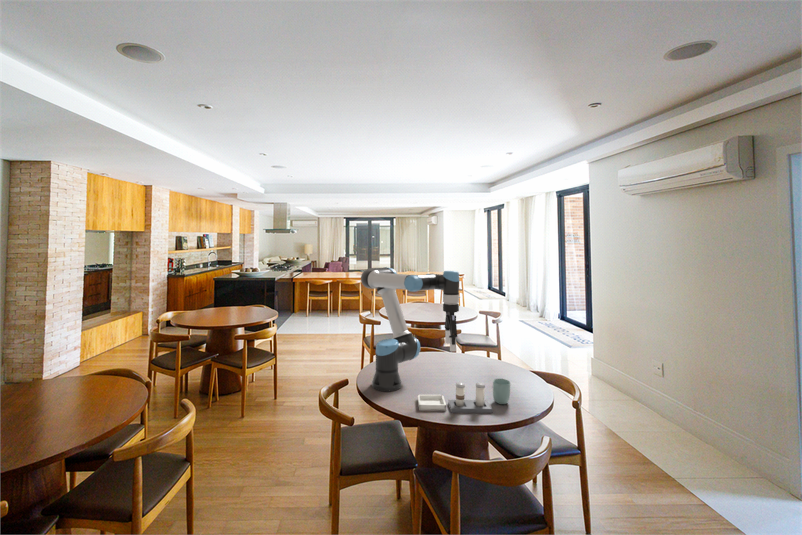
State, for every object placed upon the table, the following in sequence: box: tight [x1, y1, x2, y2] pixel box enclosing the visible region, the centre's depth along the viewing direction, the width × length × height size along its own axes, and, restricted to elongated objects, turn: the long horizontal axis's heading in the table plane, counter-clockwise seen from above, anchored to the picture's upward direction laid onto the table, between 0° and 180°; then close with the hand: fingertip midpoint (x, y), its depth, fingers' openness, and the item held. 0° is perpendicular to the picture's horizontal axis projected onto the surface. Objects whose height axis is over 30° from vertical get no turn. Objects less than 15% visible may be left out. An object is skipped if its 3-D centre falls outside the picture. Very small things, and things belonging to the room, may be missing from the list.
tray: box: [417, 394, 447, 412], centre depth 160 cm, size 12×11×2 cm
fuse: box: [475, 382, 486, 407], centre depth 157 cm, size 4×4×11 cm
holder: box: [448, 399, 494, 414], centre depth 157 cm, size 18×9×2 cm, turn 91°
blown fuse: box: [455, 381, 466, 407], centre depth 157 cm, size 4×4×11 cm
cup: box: [492, 378, 511, 405], centre depth 163 cm, size 8×8×10 cm
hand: (450, 347), depth 168 cm, fingers open, 13 cm apart
